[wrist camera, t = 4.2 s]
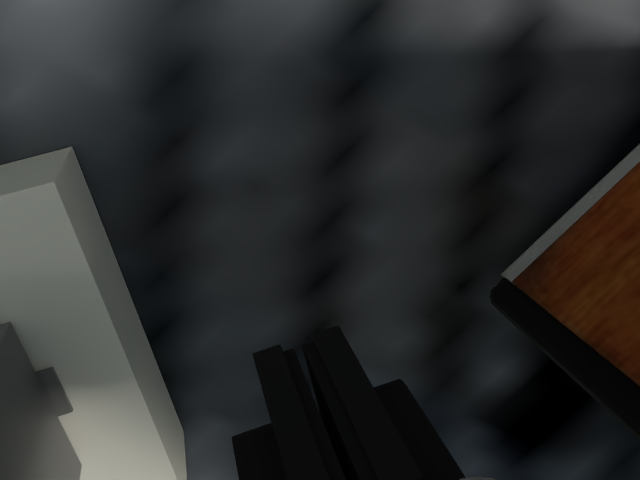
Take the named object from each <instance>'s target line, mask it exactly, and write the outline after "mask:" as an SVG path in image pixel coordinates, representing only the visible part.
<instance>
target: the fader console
mask: <svg viewBox="0 0 640 480" xmlns="http://www.w3.org/2000/svg"><path fill="white" fill-rule="evenodd" d="M8 322H11V324H12V326H13V328H14V330H15V332H16V334H17V336H18V338H19V340H20V342H21V344H22V346H23V348H24V350H25V352H26V354H27V356H28V358H29V360H30V362H31V364H32V366H33V368H34V370H35V372H36V374H37V376H38V378H39V380H40V382H41V384H42V386H43V388H44V390H45V392H46V394H47V396H48V398H49V400H50V402H51V404H52V406H53V408H54V410H55V412H56V414H57V416H58V418H59V420H60V422H61V424H62V426H63V428H64V430H65V432H66V434H67V436H68V438H69V440H70V442H71V444H72V446H73V448H74V450H75V452H76V454H77V456H78V458H79V460H80V462H81V464H82V467H81V474H80V480H187V472H186V458H185V444H184V431H183V429H182V426H181V424H180V421H179V418H178V416H177V413H176V411H175V408H174V406H173V403H172V401H171V398H170V395H169V393H168V390H167V388H166V385H165V383H164V380H163V378H162V375H161V372H160V370H159V367H158V365H157V362H156V360H155V357H154V355H153V352H152V349H151V347H150V344H149V342H148V339H147V337H146V334H145V331H144V329H143V326H142V324H141V321H140V319H139V316H138V314H137V311H136V308H135V306H134V303H133V301H132V298H131V296H130V293H129V291H128V288H127V285H126V283H125V280H124V278H123V275H122V273H121V270H120V268H119V265H118V262H117V260H116V257H115V255H114V252H113V250H112V247H111V245H110V242H109V239H108V237H107V234H106V232H105V229H104V227H103V224H102V222H101V219H100V216H99V214H98V211H97V209H96V206H95V204H94V201H93V199H92V196H91V193H90V191H89V188H88V186H87V183H86V181H85V178H84V176H83V173H82V170H81V168H80V165H79V163H78V160H77V158H76V155H75V152H74V150H73V147H68V148H64V149H61V150H57V151H53V152H49V153H45V154H41V155H38V156H34V157H30V158H26V159H22V160H18V161H14V162H11V163H7V164H3V165H0V325H1V324H4V323H8Z"/></svg>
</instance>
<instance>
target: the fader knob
mask: <svg viewBox="0 0 640 480" xmlns="http://www.w3.org/2000/svg"><path fill="white" fill-rule="evenodd" d="M81 467H82V464H81V462H80V460H79V458H78V456H77V454H76V452H75V450H74V448H73V446H72V444H71V442H70V440H69V438H68V436H67V434H66V432H65V430H64V428H63V426H62V424H61V422H60V420H59V418H58V416H57V414H56V412H55V410H54V408H53V406H52V404H51V402H50V400H49V398H48V396H47V394H46V392H45V390H44V388H43V386H42V384H41V382H40V380H39V378H38V376H37V374H36V372H35V370H34V368H33V366H32V364H31V362H30V360H29V358H28V356H27V354H26V352H25V350H24V348H23V346H22V344H21V342H20V340H19V338H18V336H17V334H16V332H15V330H14V328H13V326H12V324H11V322H8V323H4V324H1V325H0V480H80V474H81Z"/></svg>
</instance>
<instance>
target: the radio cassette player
mask: <svg viewBox="0 0 640 480" xmlns="http://www.w3.org/2000/svg"><path fill="white" fill-rule="evenodd" d="M501 275H502V277H503V279H502V280H501V281H500V282H499V283H498V284H497V285H496V286H495V287H494V288H493V289H492V290H491V293H490V299H491V303H492V304H493V305H494V306H495V307H496V308H497V309H498V310H499V311H500V312H501V313H502V314H503V315H504V316H505V317H506V318H507V319H508V320H510V321H511V322H512V323H513V324H514V325H515V326H516V327H517V328H518V329H519V330H520V331H521V332H523V333H524V334H525V335H526V336H527V337H528V338H529V339H530V340H531V341H532V342H533V343H534V344H536V345H537V346H538V347H539V348H540V349H541V350H542V351H543V352H544V353H545V354H546V355H547V356H549V357H550V358H551V359H552V360H553V361H554V362H555V363H556V364H557V365H558V366H559V367H560V368H562V369H563V370H564V371H565V372H566V373H567V374H568V375H569V376H570V377H571V378H572V379H573V380H575V381H576V382H577V383H578V384H579V385H580V386H581V387H582V388H583V389H584V390H585V391H586V392H588V393H589V394H590V395H591V396H592V397H593V398H594V399H595V400H596V401H597V402H598V403H600V404H601V405H602V406H603V407H604V408H605V409H606V410H607V411H608V412H609V413H610V414H611V415H613V416H614V417H615V418H616V419H617V420H618V421H619V422H620V423H621V424H622V425H623V426H624V427H626V428H627V429H628V430H629V431H630V432H631V433H632V434H633V435H634V436H635V437H636V438H637V439H639V440H640V144H639V145H637V146H636V147H635V148H634V149H633V150H632V151H631V152H630V153H629V154H628V155H627V156H626V157H625V158H624V159H623V160H622V161H620V162H619V163H618V164H617V165H616V166H615V167H614V168H613V169H612V170H611V171H610V172H609V173H608V174H607V175H606V176H605V177H603V178H602V179H601V180H600V181H599V182H598V183H597V184H596V185H595V186H594V187H593V188H592V189H591V190H590V191H589V192H588V193H586V194H585V195H584V196H583V197H582V198H581V199H580V200H579V201H578V202H577V203H576V204H575V205H574V206H573V207H572V208H571V209H569V210H568V211H567V212H566V213H565V214H564V215H563V216H562V217H561V218H560V219H559V220H558V221H557V222H556V223H555V224H554V225H552V226H551V227H550V228H549V229H548V230H547V231H546V232H545V233H544V234H543V235H542V236H541V237H540V238H539V239H538V240H537V241H535V242H534V243H533V244H532V245H531V246H530V247H529V248H528V249H527V250H526V251H525V252H524V253H523V254H522V255H521V256H520V257H518V258H517V259H516V260H515V261H514V262H513V263H512V264H511V265H510V266H509V267H508V268H507V269H506V270H505V271H504V272H503V273H501Z"/></svg>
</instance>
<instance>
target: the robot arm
mask: <svg viewBox="0 0 640 480" xmlns="http://www.w3.org/2000/svg"><path fill="white" fill-rule="evenodd" d="M311 341H312V342H311V343H308V344H305V345H302V348H303V352H304V356H305V360H306V363H307V367H308V371H309V374H310V378H311V382H312V386H313V389H314V393H315V397H316V401H317V404H318V408H319V411H318V408H317V406H316V403H315V401H314V398H313V396H312V393H311V391H310V388H309V386H308V383H307V381H306V378H305V376H304V373H303V371H302V368H301V366H300V363H299V360H298V358H297V355H296V353H295V350H294V349H290V350H287V351H284V352H283V350H282V348H281V345H277V346H274V347H271V348H268V349H265V350H262V351H258V352H255V353H253V357H254V361H255V365H256V368H257V372H258V375H259V379H260V383H261V386H262V390H263V393H264V397H265V401H266V404H267V408H268V411H269V415H270V419H271V422H272V423H270V424H267V425H264V426H261V427H258V428H255V429H252V430H250V431H247V432H244V433H241V434H238V435H235V436H232V442H233V448H234V454H235V459H236V465H237V471H238V476H239V480H497V479H493V478H486V477H469V478H466V477H465V476H464V474H463V473H462V471H461V470H460V468H459V466H458V465H457V463H456V462H455V460H454V459H453V457H452V456H451V454H450V453H449V451H448V449H447V448H446V446H445V445H444V443H443V442H442V440H441V439H440V437H439V436H438V434H437V432H436V431H435V429H434V428H433V426H432V425H431V423H430V422H429V420H428V418H427V417H426V415H425V414H424V412H423V411H422V409H421V408H420V406H419V405H418V403H417V401H416V400H415V398H414V397H413V395H412V394H411V392H410V391H409V389H408V388H407V386H406V385H405V383H404V382H403V381H402V380H401V379H397V380H394V381H392V382H389V383H386V384H383V385H380V386H377V387H374V388H373V386H372V384H371V383H370V381H369V379H368V377H367V375H366V374H365V372H364V370H363V368H362V367H361V365H360V363H359V361H358V359H357V358H356V356H355V354H354V352H353V350H352V349H351V347H350V345H349V343H348V342H347V340H346V338H345V336H344V334H343V333H342V331H341V329H340V328H339V326H335V327H332V328H329V329H326V330H323V331H320V332H317V333H314V334H311ZM319 412H320V413H319Z"/></svg>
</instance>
